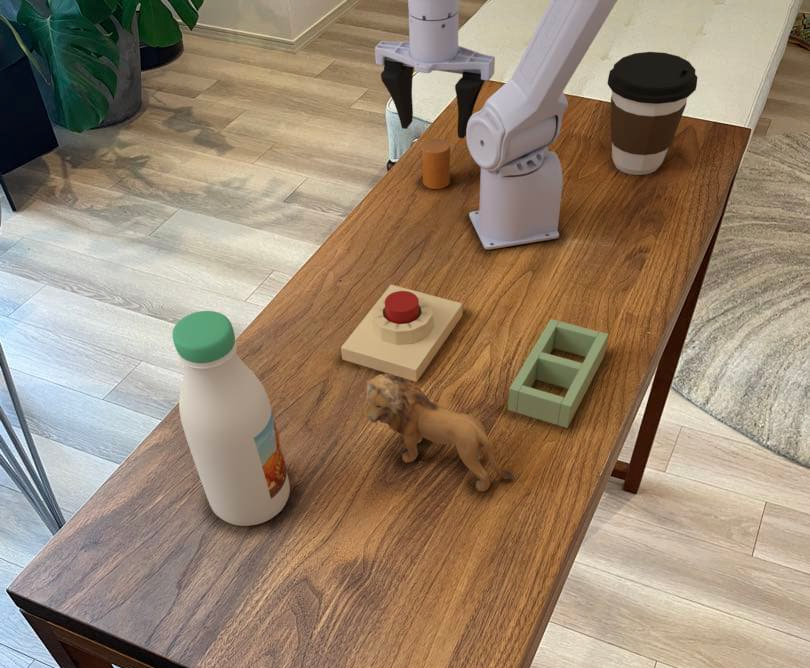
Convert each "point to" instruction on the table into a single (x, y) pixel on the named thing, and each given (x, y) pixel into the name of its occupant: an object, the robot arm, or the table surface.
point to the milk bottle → (228, 423)
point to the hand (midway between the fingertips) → (434, 129)
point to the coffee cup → (647, 108)
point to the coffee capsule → (436, 163)
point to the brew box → (402, 336)
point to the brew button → (401, 307)
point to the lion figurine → (429, 424)
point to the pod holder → (557, 372)
